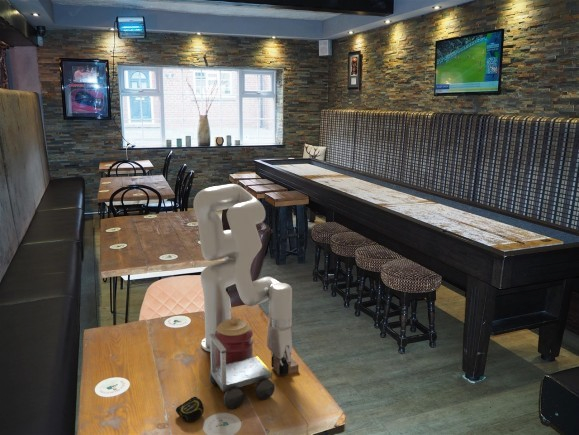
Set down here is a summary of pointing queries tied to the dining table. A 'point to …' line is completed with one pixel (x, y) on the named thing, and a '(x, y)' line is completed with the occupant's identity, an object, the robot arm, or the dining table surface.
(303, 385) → the dining table surface
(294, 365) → the block
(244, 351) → the canister
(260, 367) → the trolley
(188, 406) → the tape measure
